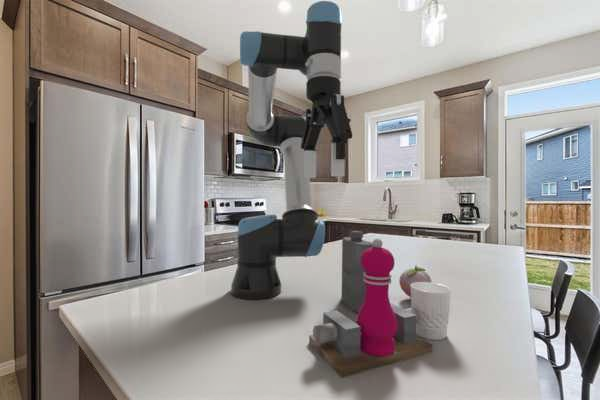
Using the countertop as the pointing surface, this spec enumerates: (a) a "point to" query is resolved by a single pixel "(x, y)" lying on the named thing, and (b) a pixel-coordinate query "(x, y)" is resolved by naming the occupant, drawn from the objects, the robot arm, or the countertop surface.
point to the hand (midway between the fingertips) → (322, 177)
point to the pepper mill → (377, 302)
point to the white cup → (431, 309)
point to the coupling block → (346, 342)
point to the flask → (353, 270)
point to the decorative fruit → (412, 278)
